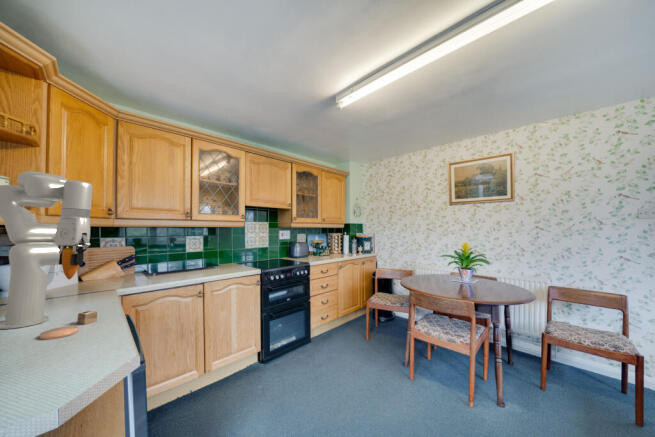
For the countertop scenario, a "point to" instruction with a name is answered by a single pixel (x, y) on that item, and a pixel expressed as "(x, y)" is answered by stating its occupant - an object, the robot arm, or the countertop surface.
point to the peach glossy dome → (58, 332)
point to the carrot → (68, 262)
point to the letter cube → (87, 317)
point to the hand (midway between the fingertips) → (70, 264)
